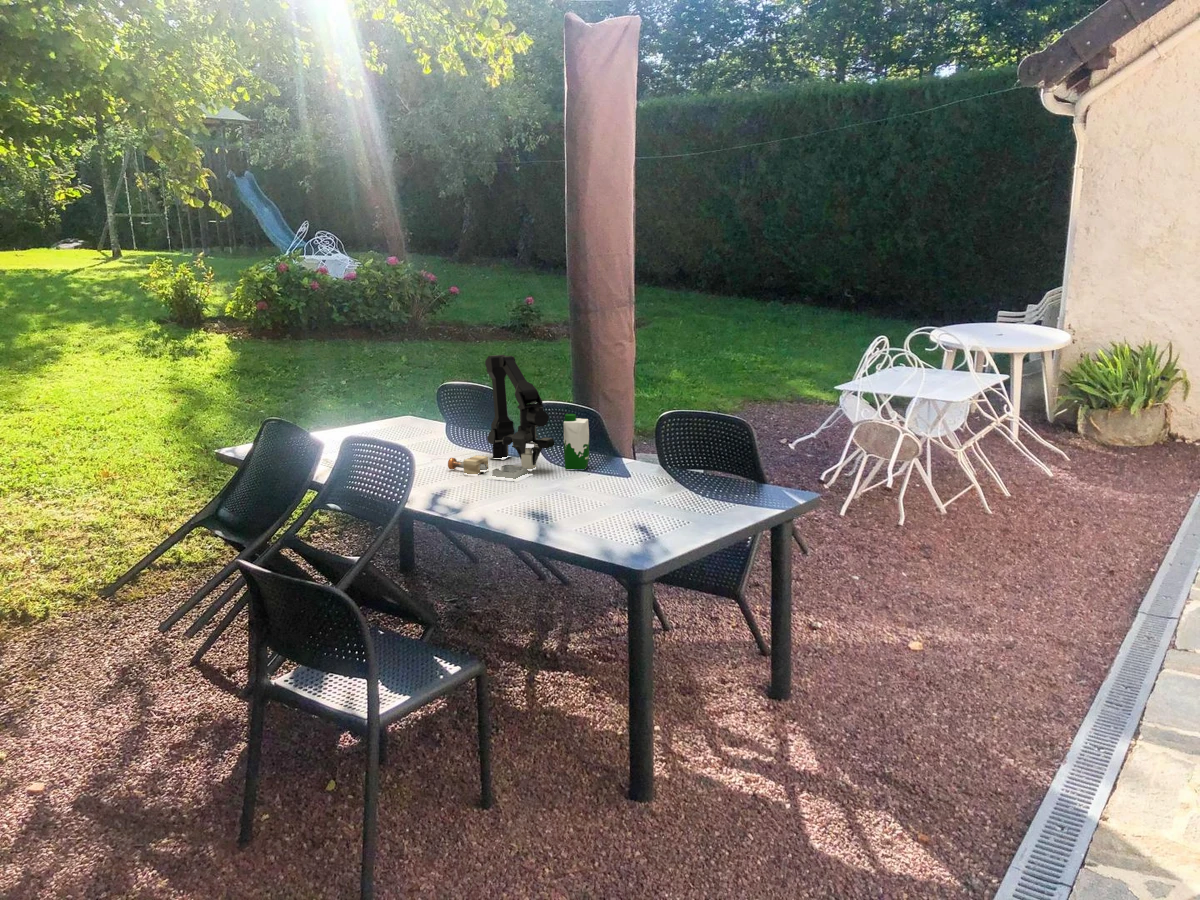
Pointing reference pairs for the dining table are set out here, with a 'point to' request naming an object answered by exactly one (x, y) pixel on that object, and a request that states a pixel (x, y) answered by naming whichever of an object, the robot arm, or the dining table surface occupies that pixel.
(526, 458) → the spigot
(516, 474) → the socket
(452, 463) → the pin
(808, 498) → the dining table surface
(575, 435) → the milk carton
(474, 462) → the mount
